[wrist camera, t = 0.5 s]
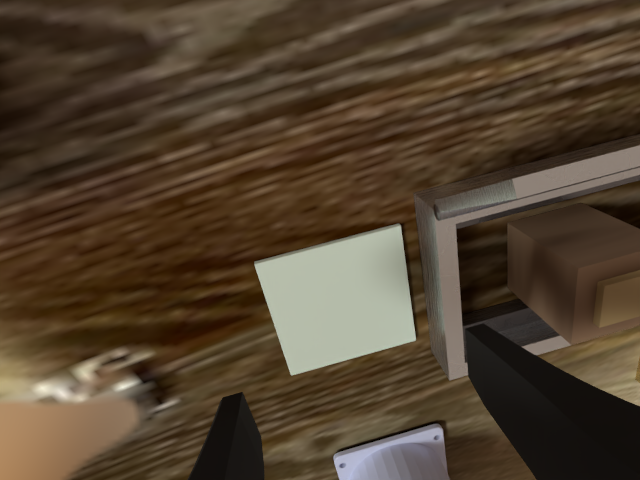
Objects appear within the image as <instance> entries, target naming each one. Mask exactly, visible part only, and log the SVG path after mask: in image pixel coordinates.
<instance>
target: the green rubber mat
mask: <svg viewBox="0 0 640 480" xmlns="http://www.w3.org/2000/svg"><path fill="white" fill-rule="evenodd" d="M254 265H255V268H256V271H257V274H258V277H259V280H260V283H261V286H262V289H263V292H264V295H265V298H266V301H267V304H268V307H269V310H270V313H271V316H272V319H273V322H274V325H275V328H276V331H277V334H278V337H279V341H280V344H281V347H282V350H283V353H284V356H285V359H286V362H287V365H288V368H289V371H290V374H291V375H295V374H299V373H302V372H306V371H309V370H313V369H316V368H320V367H323V366H327V365H330V364H334V363H337V362H341V361H345V360H348V359H352V358H355V357H359V356H362V355H366V354H369V353H373V352H376V351H380V350H384V349H387V348H391V347H394V346H398V345H401V344H405V343H408V342H412V341H415V340H416V336H415V329H414V321H413V314H412V306H411V299H410V291H409V284H408V276H407V269H406V261H405V254H404V246H403V239H402V231H401V225H400V224H395V225H391V226H387V227H383V228H380V229H376V230H372V231H368V232H365V233H361V234H357V235H353V236H350V237H346V238H342V239H338V240H334V241H331V242H327V243H323V244H319V245H316V246H312V247H308V248H304V249H301V250H297V251H293V252H289V253H285V254H282V255H278V256H274V257H270V258H267V259H263V260H259V261H255V262H254Z"/></svg>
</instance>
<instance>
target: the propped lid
mask: <svg viewBox="0 0 640 480" xmlns="http://www.w3.org/2000/svg"><path fill="white" fill-rule="evenodd" d="M636 168H640V145H639V146H635V147H631V148H627V149H624V150H620V151H616V152H612V153H608V154H605V155H601V156H597V157H593V158H589V159H586V160H582V161H578V162H574V163H571V164H567V165H563V166H559V167H555V168H552V169H548V170H544V171H540V172H536V173H533V174H529V175H525V176H521V177H517V178H514V179H510V180H506V181H503V182H499V183H495V184H492V185H488V186H484V187H481V188H477V189H473V190H470V191H466V192H463V193H459V194H455V195H452V196H448V197H444V198H441V199H437V200H435V203H436V204H434V206H433V211H434V215H435V217H436V219H437V220H438V221H441V220H444V219H448V218H452V217H456V216H459V215H463V214H467V213H471V212H474V211H478V210H482V209H486V208H489V207H493V206H497V205H501V204H505V203H508V202H512V201H516V200H520V199H523V198H527V197H531V196H535V195H538V194H542V193H546V192H550V191H553V190H557V189H561V188H565V187H568V186H572V185H576V184H580V183H583V182H587V181H591V180H595V179H598V178H602V177H606V176H610V175H613V174H617V173H621V172H625V171H628V170H632V169H636Z"/></svg>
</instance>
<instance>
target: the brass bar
mask: <svg viewBox="0 0 640 480" xmlns="http://www.w3.org/2000/svg"><path fill="white" fill-rule="evenodd" d="M635 380H637V381H638V382H639V383H640V358H639V363H638V368H637V373H636V379H635Z"/></svg>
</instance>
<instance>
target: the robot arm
mask: <svg viewBox="0 0 640 480" xmlns="http://www.w3.org/2000/svg"><path fill="white" fill-rule="evenodd" d="M465 336H466V351H467V365H468V376H469V378H470V380H471V382H472V384H473V386H474V388H475V389H476V391H477V393H478V395H479V397H480V398H481V400H482V402H483V404H484V405H485V407H486V408H487V410H488V411H489V413H490V414H491V416H492V417H493V418H494V420H495V421H496V423H497V424H498V425H499V427H500V428H501V430H502V431H503V432H504V434H505V435H506V437H507V438H508V439H509V441H510V442H511V444H512V445H513V446H514V448H515V449H516V451H517V452H518V453H519V455H520V456H521V458H522V459H523V460H524V462H525V463H526V465H527V466H528V467H529V469H530V470H531V472H532V473H533V475H534V476H535V478H536V479H537V480H640V406H637V405H635V404H632V403H630V402H627V401H625V400H623V399H621V398H618V397H616V396H614V395H612V394H609V393H607V392H605V391H603V390H600V389H598V388H596V387H594V386H592V385H590V384H588V383H586V382H584V381H582V380H580V379H578V378H576V377H574V376H572V375H570V374H568V373H566V372H564V371H562V370H561V369H559V368H557V367H555V366H553V365H552V364H550V363H548V362H546V361H545V360H543V359H541V358H539V357H538V356H536V355H534V354H532V353H531V352H529V351H527V350H526V349H524V348H522V347H521V346H519V345H518V344H516V343H514V342H513V341H511V340H509V339H508V338H506V337H505V336H503V335H501V334H500V333H498V332H497V331H495V330H493V329H492V328H490V327H489V326H487V325H485V324H484V323H483V324H479V325H476V326H472V327H469V328H465ZM334 463H335V466H336V470H337V473H338V476H339V480H450V478H449V476H448V471H447V462H446V453H445V444H444V435H443V429H442V427H441V425H439V424H432V425H429V426H425V427H422V428H419V429H415V430H412V431H408V432H405V433H402V434H398V435H395V436H391V437H388V438H385V439H381V440H378V441H374V442H371V443H368V444H364V445H361V446H358V447H354V448H351V449H347V450H344V451H341V452H338V453H336V454H335V455H334ZM188 480H264V462H263V452H262V442H261V435H260V433H259V431H258V428H257V426H256V423H255V421H254V419H253V416H252V414H251V411H250V409H249V407H248V404H247V402H246V399H245V397H244V395H243V392H241V393H237V394H234V395H230V396H227V397H223V398H222V400H221V402H220V404H219V407H218V410H217V412H216V415H215V418H214V420H213V423H212V425H211V428H210V430H209V433H208V435H207V438H206V440H205V443H204V445H203V447H202V449H201V452H200V454H199V456H198V459H197V461H196V463H195V465H194V467H193V470H192V472H191V474H190V476H189V478H188Z"/></svg>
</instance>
